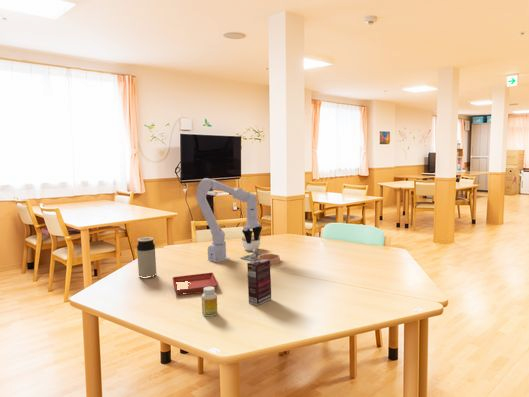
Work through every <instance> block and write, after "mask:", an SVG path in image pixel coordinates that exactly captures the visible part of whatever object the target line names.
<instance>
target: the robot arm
mask: <svg viewBox="0 0 529 397" xmlns="http://www.w3.org/2000/svg"><path fill="white" fill-rule="evenodd" d="M210 190H220V191H222V192H224V193H228V194H229V195H232V198H233V199H235V200H237V201H240V202H243V203H246V225H245V226H243V229H242V230H241V231H242V234H243V235H244V236H245V238H246V242H247V243H251V237H252V235H254V240H257V241H258V239H259V236H260V235H261V234H260V233H261V232H262V229H263V227H262V226H261V225H262V223H261V222H259V221H258V197H257V196H256V195H255V194H254V193H252V192H250V191H246V190H244V189H243V188H241V187H236V188H233V187H231V186H229V185H226V184H225V183H222V182H220V181H218V180H215V179H211V178H208V177H204V178H202V179H201V180H200V181H199V183H198V185H197V189H196V195H195V199H196V202H197V203H198V206H199V208H200V210H201V212H202V215H203V216H204V219H205V221H206V223H207V226H208V227H209V230H210V234H211V235H212V236H211V237H212V238H211V239H212V242H211V245H209V246H208V248H207V259H208V260H210V261H209V262H212V261H214V262H213V263H216V262H217V263H220V261H221V262H223V260H224V261H227V260H230V257H227V247H226V246H227V245H226V241H225V237H226V236H225V235H226V233H225V232H224V231H223V230H222V229H221V227H220V225H219V223H218V221H217V219H216V217H215V214H214V212H213V210H212V208H211V205H210V204H209V202H208V200H207V195H208V193H209V192H210ZM208 260H207V261H208Z"/></svg>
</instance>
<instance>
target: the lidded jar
mask: <svg viewBox="0 0 529 397" xmlns="http://www.w3.org/2000/svg"><path fill="white" fill-rule="evenodd" d="M241 241H242V242H241V244H242V247H243V249H244V250H246V251H247V252H248V251H249V252H253V250H258V249H259V248H260V246H261V236H260V235H259V239H258V241H257V240H254V234H252V237H251V243H247V242H246V238H245V235H244V236H242V238H241Z"/></svg>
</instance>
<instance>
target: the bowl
mask: <svg viewBox="0 0 529 397" xmlns="http://www.w3.org/2000/svg"><path fill="white" fill-rule="evenodd" d="M261 254H262V255H259V256H258V259H261V258H262V259H268V260H270V266H271V265H276V264H278V263H279V264H280V262H281V259H280V258H281V257H280V254H275V253H261Z"/></svg>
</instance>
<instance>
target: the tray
mask: <svg viewBox="0 0 529 397" xmlns="http://www.w3.org/2000/svg"><path fill="white" fill-rule="evenodd" d="M262 254H263V253H260V252H259V255H262ZM249 255H250V254H248V255H244V256H241V257H240V260H243V261H248V262H252V261H255V260H258V256H259V255H258V256H256V258H255V259H250V257H249Z"/></svg>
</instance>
